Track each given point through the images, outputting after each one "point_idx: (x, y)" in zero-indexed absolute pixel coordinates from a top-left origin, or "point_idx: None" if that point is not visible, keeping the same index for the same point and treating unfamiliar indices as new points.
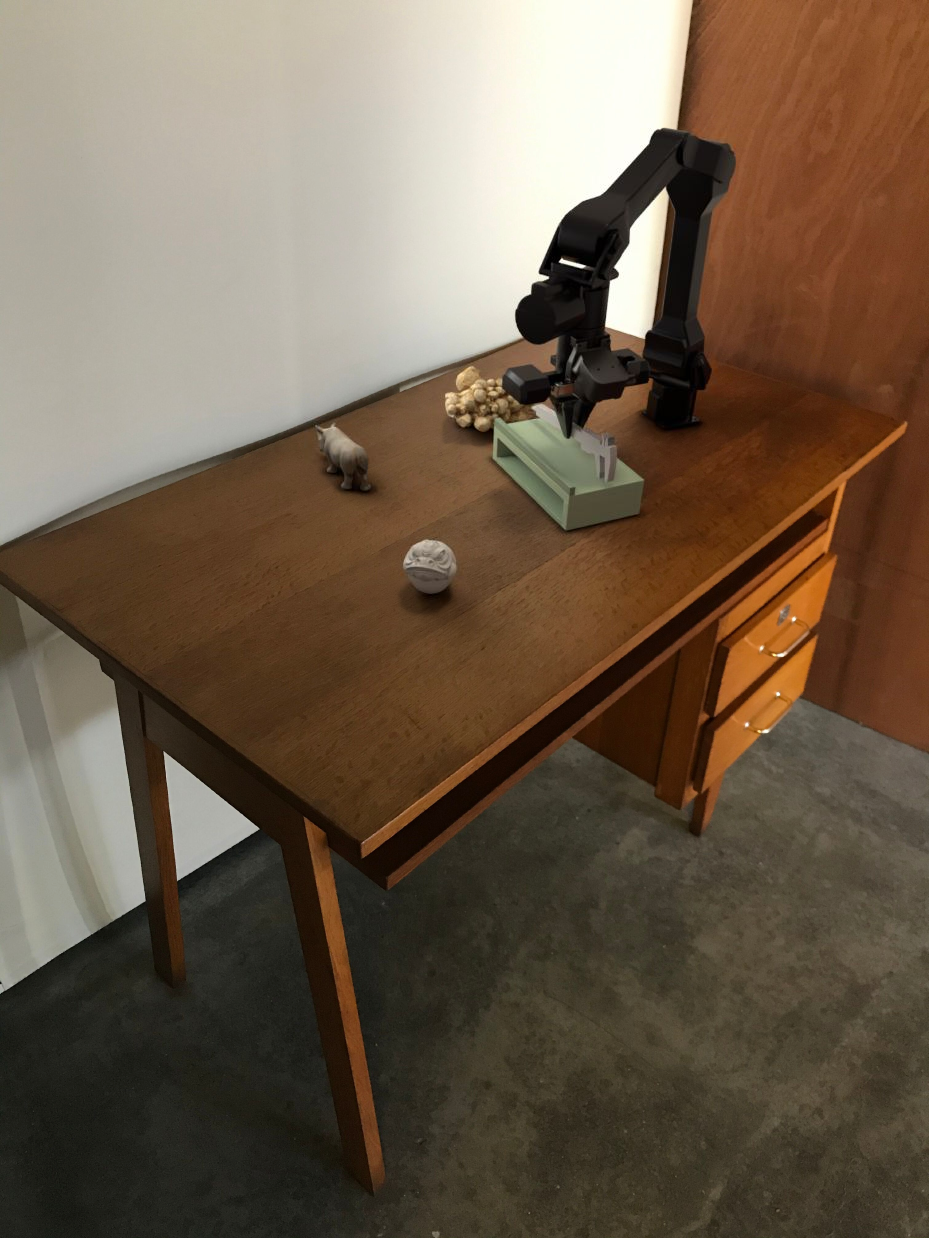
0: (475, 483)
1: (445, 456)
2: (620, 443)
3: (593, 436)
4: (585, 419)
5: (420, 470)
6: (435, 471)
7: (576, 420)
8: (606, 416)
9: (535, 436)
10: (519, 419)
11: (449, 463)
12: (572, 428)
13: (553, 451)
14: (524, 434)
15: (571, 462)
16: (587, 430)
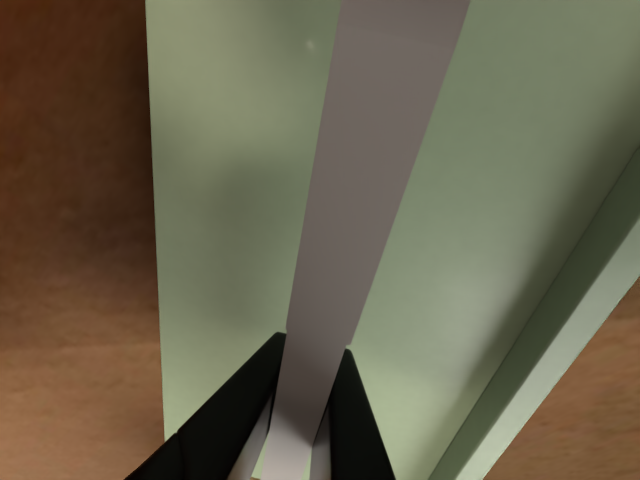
0: (575, 370)
1: (504, 476)
2: (45, 283)
3: (404, 181)
4: (220, 414)
5: (619, 476)
6: (595, 456)
7: (262, 433)
8: (26, 380)
9: None
10: (252, 478)
11: (528, 457)
12: (328, 394)
13: (392, 332)
14: None
15: (403, 220)
16: (319, 313)
